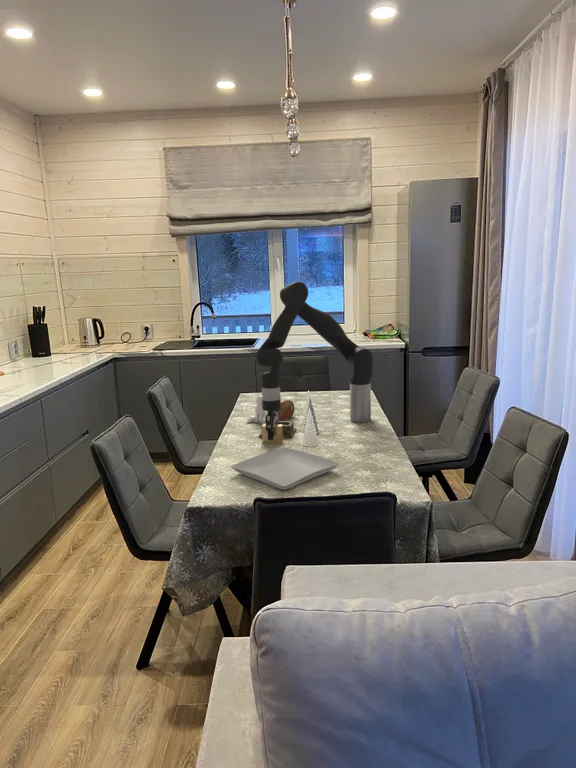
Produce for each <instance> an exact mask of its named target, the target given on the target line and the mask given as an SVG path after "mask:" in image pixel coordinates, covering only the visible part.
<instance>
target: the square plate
mask: <svg viewBox="0 0 576 768" xmlns="http://www.w3.org/2000/svg"><path fill="white" fill-rule="evenodd" d="M339 464H340V463H339V462H338V461H333V460H331V459H328V458H325V457H322V456H319V455H316V454H313V453H309V452H305V451H302V450H297V449H294V448H291V447H287V446H284V447H280V448H278V449H274V450H271V451H267V452H265V453H261V454H258V455H256V456H253V457H250V458H247V459H245V460H242V461H241V462H237V463H235V464H232V465H231V466H230V469H231V468H232V469H233V470H234V471H235V472H237V473H238V474H242V475H244V476H246V477H249V478H251V479H253V480H257V481H259V482H262V483H264V484H267V485H269V486H271V487H274V488H277V489H280V490H283V491H285V490H288V489H289V490H290V489H291V488H293V487H295V486H298V485H300V484H302V483H305V482H307V481H309V480H311V479H315V478H317V477H319V476H321V475H324V474H326V473H329V472H331V471H333V470H334V469H335V468H338V467H337V466H339Z"/></svg>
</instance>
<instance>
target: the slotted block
mask: <svg viewBox="0 0 576 768" xmlns="http://www.w3.org/2000/svg"><path fill="white" fill-rule="evenodd" d="M268 422H269V421H268ZM263 424H266V421H265V422H264V423H261V427H262V426H263ZM278 424H283V439H293V437H294V435H295V434H296V432H297V427H295V426H294V421H293V420H292V421H290V420H288V421H287V420H283V421H278ZM258 438H260V439H261V438H262V431H261V432H259V435H258ZM262 439H263V438H262Z"/></svg>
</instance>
